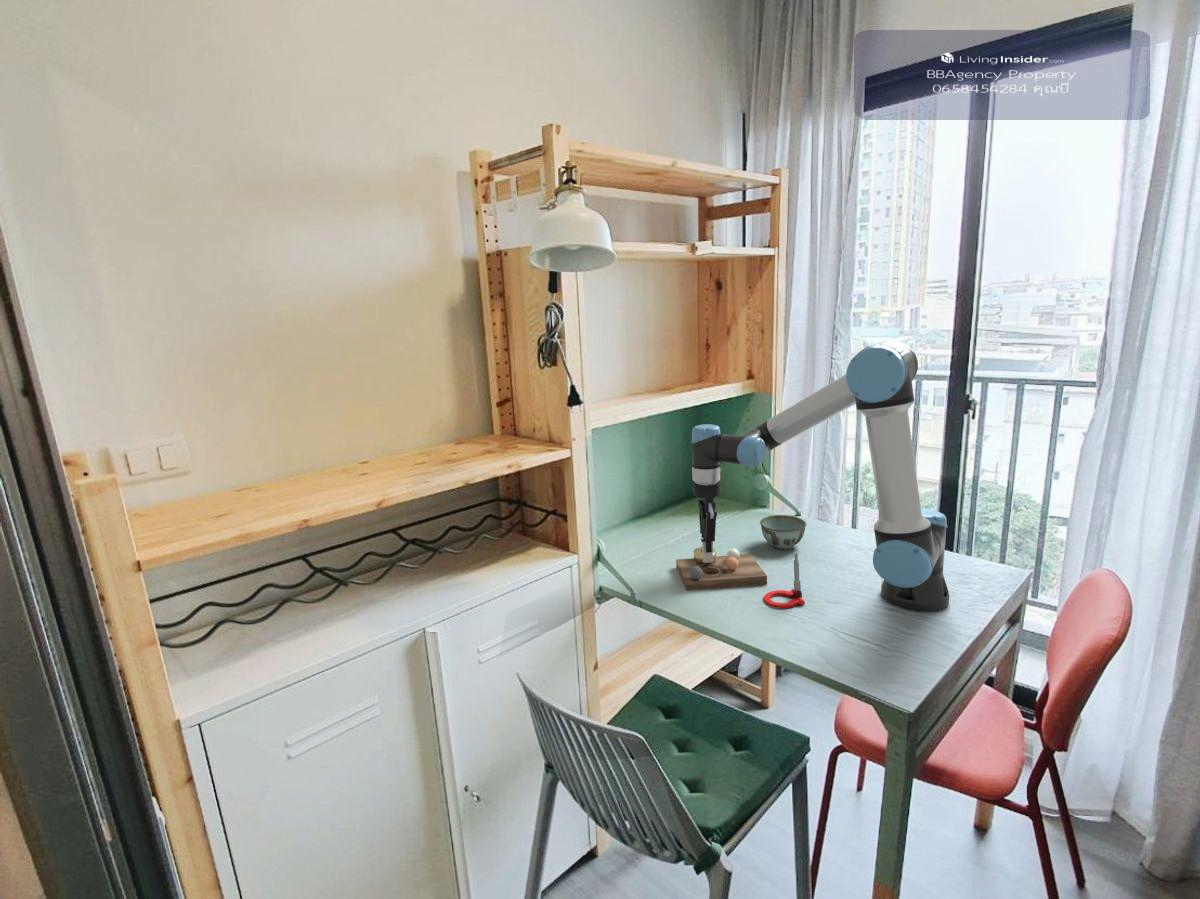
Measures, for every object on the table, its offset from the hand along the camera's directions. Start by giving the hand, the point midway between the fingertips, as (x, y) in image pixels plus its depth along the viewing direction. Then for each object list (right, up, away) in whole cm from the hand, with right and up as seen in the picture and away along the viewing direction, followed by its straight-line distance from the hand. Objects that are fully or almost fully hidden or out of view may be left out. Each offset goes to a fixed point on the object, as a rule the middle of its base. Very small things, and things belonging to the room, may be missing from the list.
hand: (707, 561), depth 170 cm
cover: (0, 0, +4) cm, 4 cm away
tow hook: (+16, -7, -16) cm, 24 cm away
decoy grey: (-5, -2, -8) cm, 9 cm away
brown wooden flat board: (+3, -4, 0) cm, 5 cm away
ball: (+6, 0, -3) cm, 7 cm away
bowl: (+26, +1, +17) cm, 31 cm away
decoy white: (+8, +1, +3) cm, 8 cm away
